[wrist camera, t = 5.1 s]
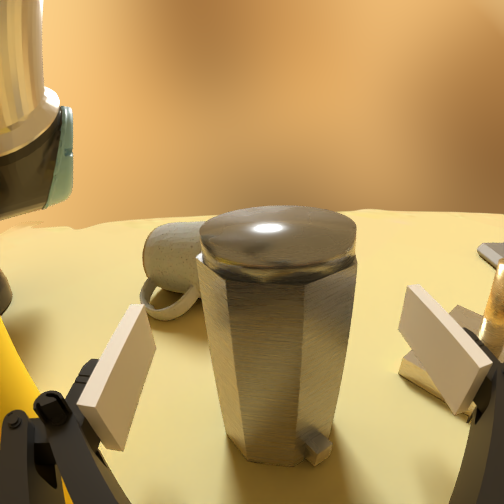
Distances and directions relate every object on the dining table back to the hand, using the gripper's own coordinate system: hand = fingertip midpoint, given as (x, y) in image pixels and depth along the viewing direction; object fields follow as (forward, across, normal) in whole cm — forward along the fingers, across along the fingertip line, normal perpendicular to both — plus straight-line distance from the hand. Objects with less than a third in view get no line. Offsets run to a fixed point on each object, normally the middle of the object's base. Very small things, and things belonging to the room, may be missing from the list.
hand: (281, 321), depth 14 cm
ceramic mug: (+16, -8, -7) cm, 19 cm away
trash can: (-1, 0, -7) cm, 7 cm away
